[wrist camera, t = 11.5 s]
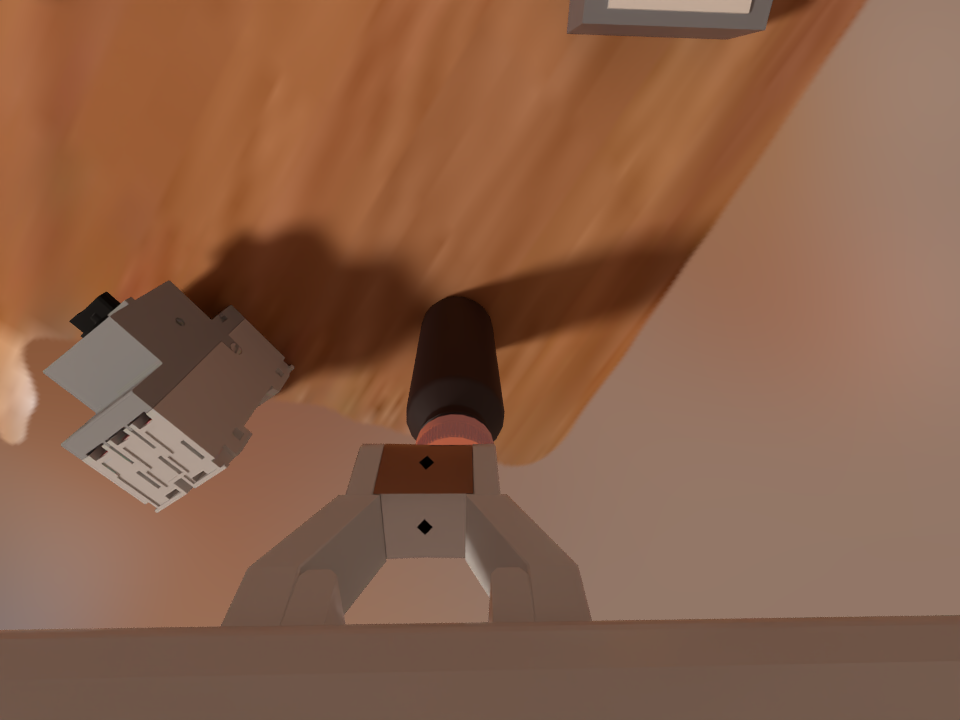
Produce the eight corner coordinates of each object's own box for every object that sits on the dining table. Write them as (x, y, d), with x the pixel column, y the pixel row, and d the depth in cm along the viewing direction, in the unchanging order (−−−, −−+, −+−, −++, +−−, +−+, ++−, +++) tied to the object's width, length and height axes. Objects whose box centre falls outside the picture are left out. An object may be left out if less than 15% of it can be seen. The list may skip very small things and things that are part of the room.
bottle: (416, 352, 47) (389, 502, 29) (428, 288, 43) (406, 413, 26) (483, 364, 47) (495, 517, 30) (499, 303, 44) (525, 433, 27)
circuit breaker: (176, 250, 41) (41, 319, 28) (295, 367, 47) (229, 470, 34) (121, 297, 43) (-31, 382, 30) (241, 403, 49) (160, 514, 36)
